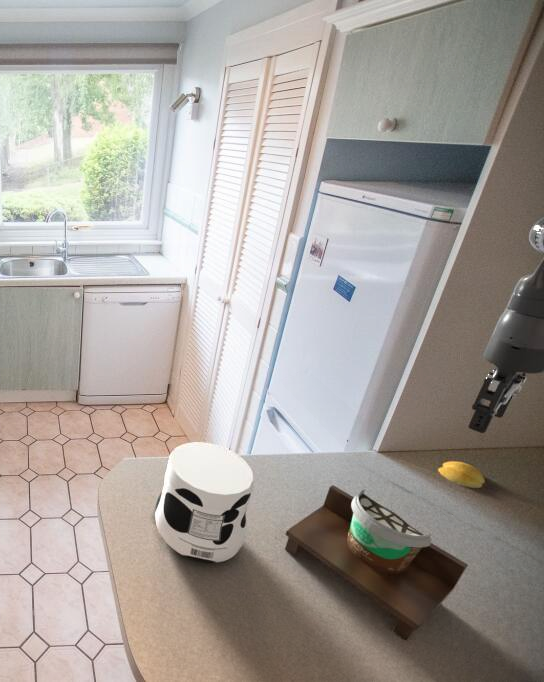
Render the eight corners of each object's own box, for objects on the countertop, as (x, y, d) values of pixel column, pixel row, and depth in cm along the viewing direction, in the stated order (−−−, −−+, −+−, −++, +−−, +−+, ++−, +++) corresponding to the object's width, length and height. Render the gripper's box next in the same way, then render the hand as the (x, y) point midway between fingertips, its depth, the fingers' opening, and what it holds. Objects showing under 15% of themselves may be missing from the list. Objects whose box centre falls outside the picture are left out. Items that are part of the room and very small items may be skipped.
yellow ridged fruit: (430, 478, 109) (436, 465, 107) (444, 465, 113) (450, 452, 112) (474, 499, 103) (481, 486, 101) (487, 484, 107) (494, 471, 105)
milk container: (199, 495, 104) (213, 430, 96) (260, 554, 89) (282, 483, 82) (136, 517, 98) (145, 450, 90) (190, 584, 83) (206, 511, 76)
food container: (323, 535, 87) (338, 495, 83) (346, 526, 89) (361, 487, 85) (389, 589, 77) (410, 547, 73) (413, 578, 79) (434, 536, 75)
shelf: (445, 604, 80) (468, 564, 76) (408, 645, 73) (430, 605, 69) (319, 520, 97) (332, 484, 93) (280, 548, 90) (292, 511, 86)
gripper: (508, 322, 79) (473, 401, 86) (478, 340, 73) (442, 425, 79) (570, 336, 74) (527, 420, 80) (544, 357, 67) (499, 447, 73)
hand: (485, 422), depth 80 cm, fingers open, 8 cm apart
